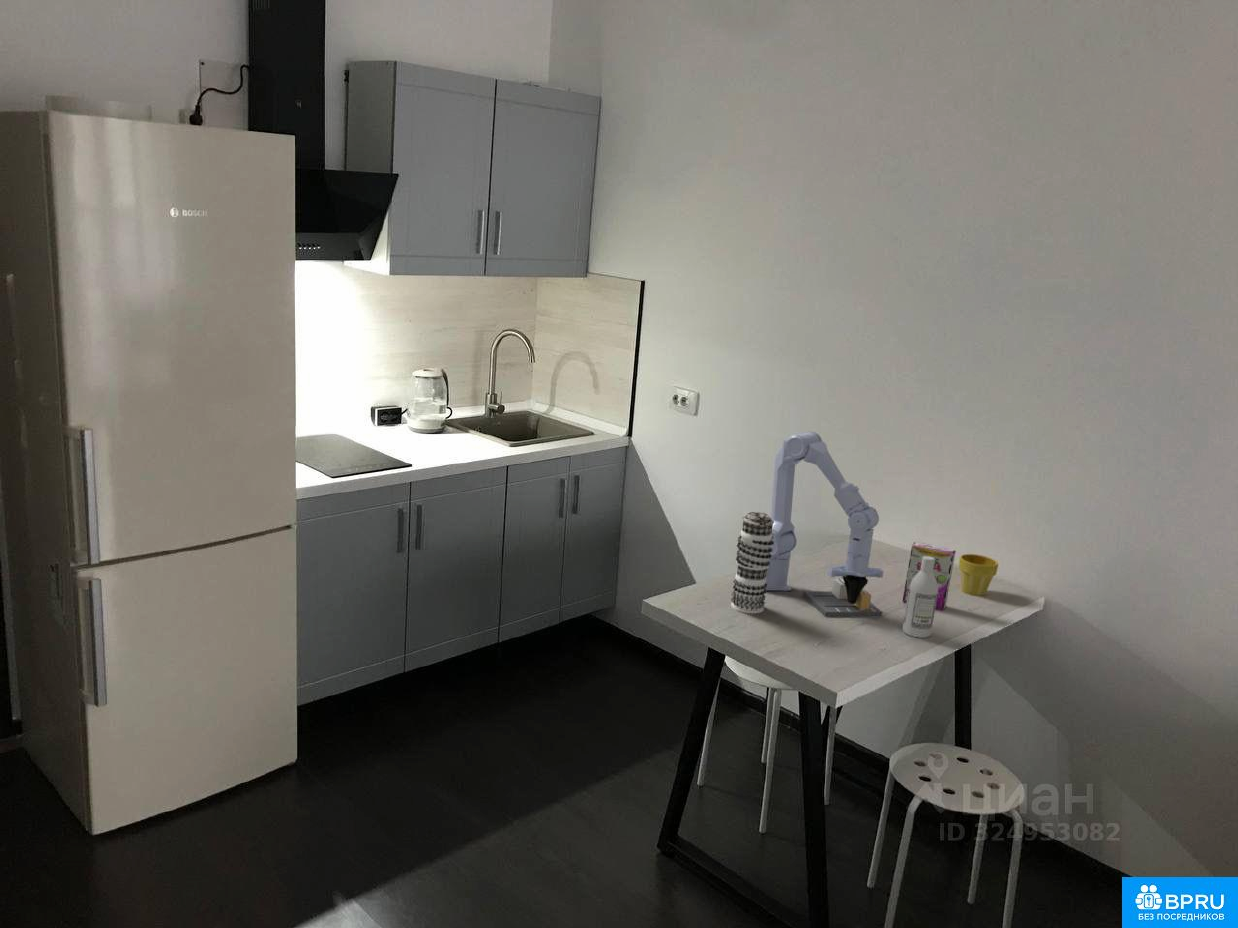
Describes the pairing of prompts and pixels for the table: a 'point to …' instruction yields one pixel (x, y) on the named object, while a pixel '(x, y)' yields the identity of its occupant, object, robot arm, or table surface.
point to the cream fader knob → (839, 589)
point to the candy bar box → (940, 569)
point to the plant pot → (976, 573)
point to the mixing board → (838, 605)
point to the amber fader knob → (863, 600)
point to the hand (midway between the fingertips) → (851, 602)
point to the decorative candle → (752, 563)
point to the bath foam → (921, 601)
